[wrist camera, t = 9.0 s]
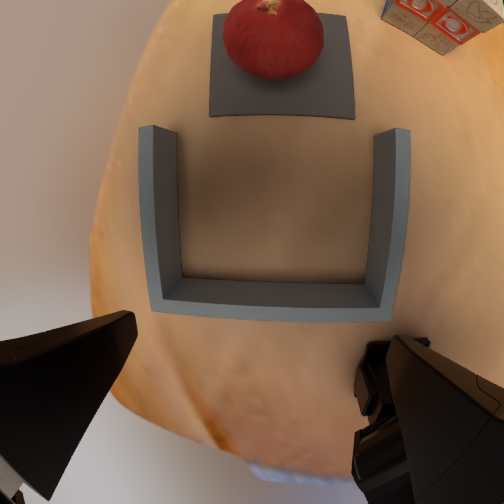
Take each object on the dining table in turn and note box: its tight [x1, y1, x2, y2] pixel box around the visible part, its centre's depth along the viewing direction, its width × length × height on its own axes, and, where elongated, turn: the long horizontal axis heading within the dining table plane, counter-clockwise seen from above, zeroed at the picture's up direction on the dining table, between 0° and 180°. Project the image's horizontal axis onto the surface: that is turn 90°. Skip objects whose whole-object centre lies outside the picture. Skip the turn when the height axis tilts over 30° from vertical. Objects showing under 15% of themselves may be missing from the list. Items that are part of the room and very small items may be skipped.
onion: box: [223, 0, 324, 79], centre depth 12 cm, size 6×6×8 cm
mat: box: [209, 13, 355, 120], centre depth 16 cm, size 10×9×1 cm
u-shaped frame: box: [139, 125, 411, 322], centre depth 17 cm, size 16×12×4 cm
